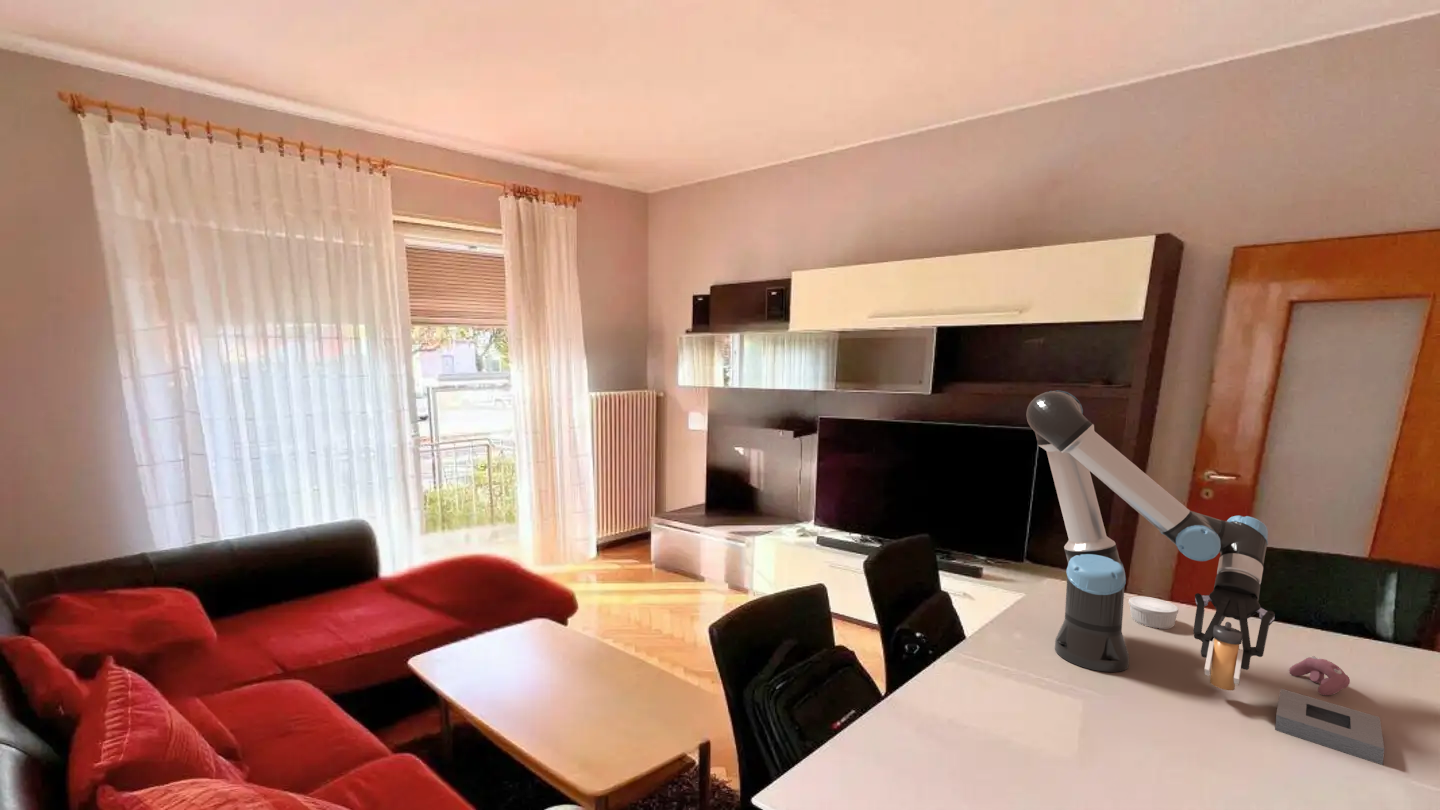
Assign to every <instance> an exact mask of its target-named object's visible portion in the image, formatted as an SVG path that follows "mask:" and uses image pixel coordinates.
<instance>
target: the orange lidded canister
mask: <svg viewBox="0 0 1440 810" xmlns="http://www.w3.org/2000/svg"><path fill="white" fill-rule="evenodd" d="M1213 637H1214V639H1213V642H1214V648H1213V658H1212V665H1211V670H1210V677H1209V678H1210V680H1209V684H1211V685H1213V687H1216V688H1219V689H1221V690H1225V691H1235V690H1236V689H1235V688H1236V684H1234V673H1235V667H1236V661H1237V655H1238V650H1239V649H1240V645H1242V632H1241V630H1240V629H1236V628H1234V627H1232V623H1231V622H1230V621H1226V622H1225V624H1224V625H1222V624H1221V625H1215V626H1214V628H1213Z"/></svg>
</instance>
